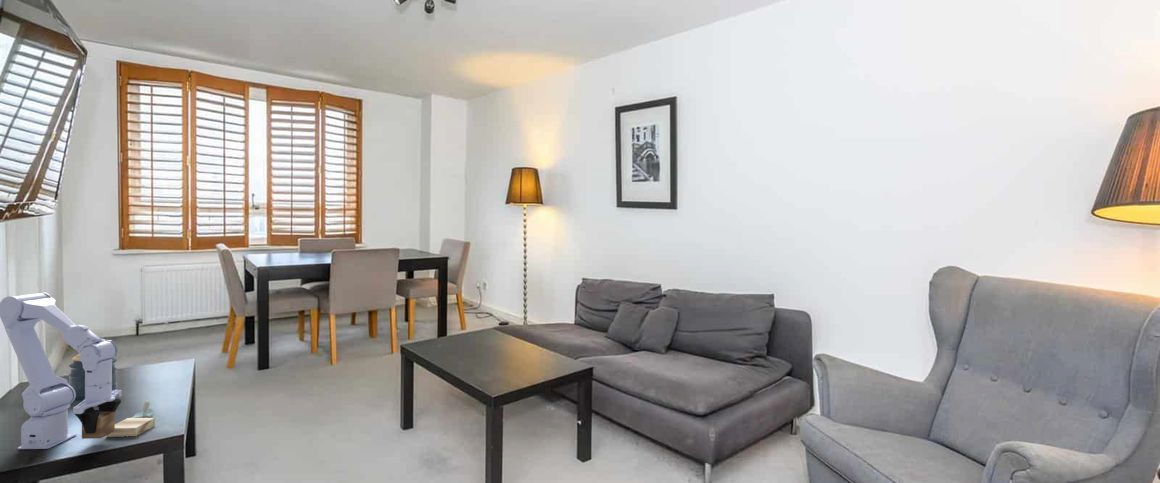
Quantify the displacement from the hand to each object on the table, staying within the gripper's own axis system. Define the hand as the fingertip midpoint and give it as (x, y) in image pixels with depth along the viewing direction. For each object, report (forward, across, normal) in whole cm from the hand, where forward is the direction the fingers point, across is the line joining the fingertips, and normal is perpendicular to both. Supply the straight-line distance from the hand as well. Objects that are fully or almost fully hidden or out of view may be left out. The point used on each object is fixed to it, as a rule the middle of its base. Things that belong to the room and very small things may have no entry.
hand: (98, 429), depth 149 cm
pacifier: (+5, +18, +1) cm, 19 cm away
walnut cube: (+2, 0, 0) cm, 2 cm away
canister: (+5, +43, +34) cm, 55 cm away
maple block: (+5, +9, -3) cm, 11 cm away
